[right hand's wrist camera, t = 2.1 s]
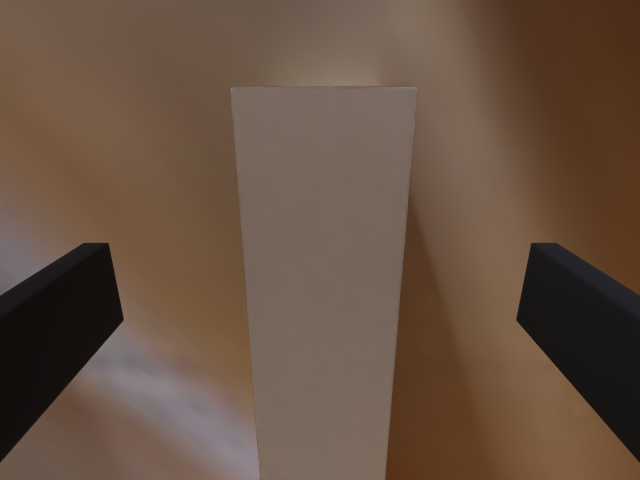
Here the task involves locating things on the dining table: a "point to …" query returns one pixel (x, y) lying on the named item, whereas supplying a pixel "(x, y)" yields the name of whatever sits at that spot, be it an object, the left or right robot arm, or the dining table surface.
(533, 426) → the dining table surface
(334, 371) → the bar
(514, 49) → the dining table surface
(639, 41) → the dining table surface
